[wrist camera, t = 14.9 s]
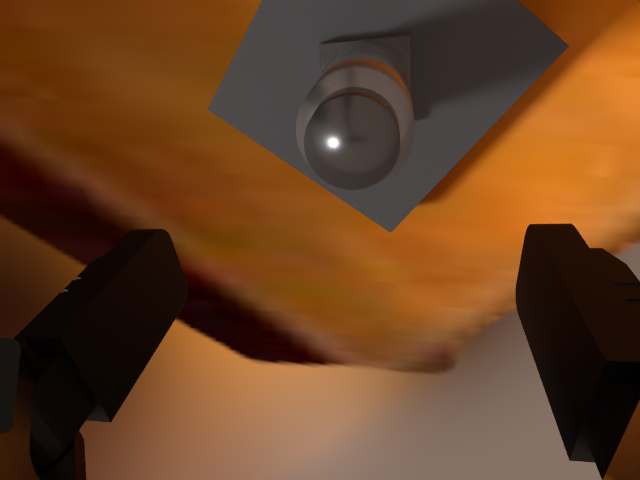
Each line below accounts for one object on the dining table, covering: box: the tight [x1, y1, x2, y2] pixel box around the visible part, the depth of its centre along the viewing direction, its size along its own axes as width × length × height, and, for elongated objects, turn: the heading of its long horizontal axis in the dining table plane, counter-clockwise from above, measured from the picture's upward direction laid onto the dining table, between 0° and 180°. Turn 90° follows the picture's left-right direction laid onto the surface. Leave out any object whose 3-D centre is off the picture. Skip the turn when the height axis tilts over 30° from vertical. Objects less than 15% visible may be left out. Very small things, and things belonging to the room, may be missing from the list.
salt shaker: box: [296, 33, 415, 190], centre depth 20 cm, size 5×5×11 cm
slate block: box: [208, 0, 569, 232], centre depth 27 cm, size 15×15×4 cm
